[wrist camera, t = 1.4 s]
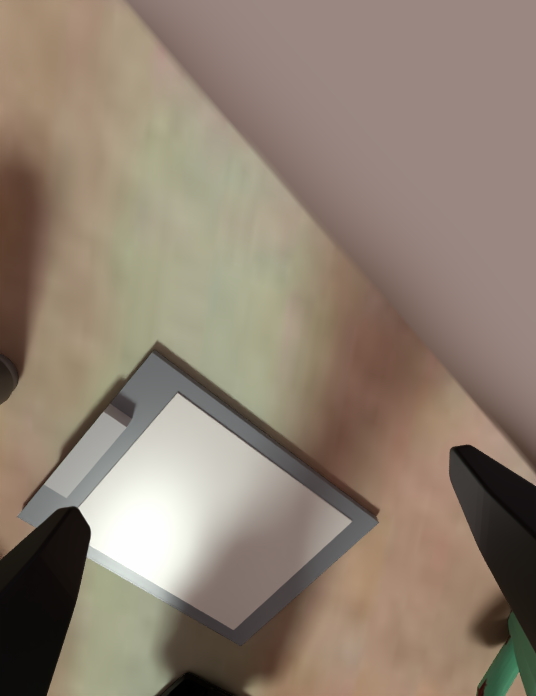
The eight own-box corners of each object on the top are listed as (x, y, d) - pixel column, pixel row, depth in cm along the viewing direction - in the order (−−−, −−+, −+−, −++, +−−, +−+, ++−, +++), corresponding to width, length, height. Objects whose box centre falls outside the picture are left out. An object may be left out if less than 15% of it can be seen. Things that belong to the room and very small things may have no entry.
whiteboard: (241, 639, 28) (240, 661, 27) (21, 511, 24) (7, 528, 23) (376, 517, 25) (383, 534, 24) (154, 349, 21) (147, 358, 20)
